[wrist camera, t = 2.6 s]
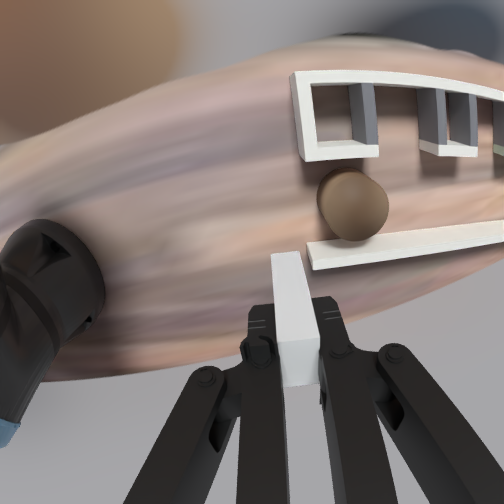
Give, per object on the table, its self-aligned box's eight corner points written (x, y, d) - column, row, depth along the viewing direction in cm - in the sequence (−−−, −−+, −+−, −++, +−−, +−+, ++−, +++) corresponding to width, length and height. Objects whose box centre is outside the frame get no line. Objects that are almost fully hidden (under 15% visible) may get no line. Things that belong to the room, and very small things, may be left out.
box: (307, 251, 29) (313, 270, 26) (289, 76, 21) (294, 71, 18) (516, 225, 27) (532, 236, 24) (524, 101, 19) (544, 105, 16)
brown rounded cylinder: (318, 226, 28) (327, 244, 24) (314, 169, 25) (324, 180, 22) (371, 220, 27) (387, 237, 24) (371, 165, 25) (389, 175, 21)
